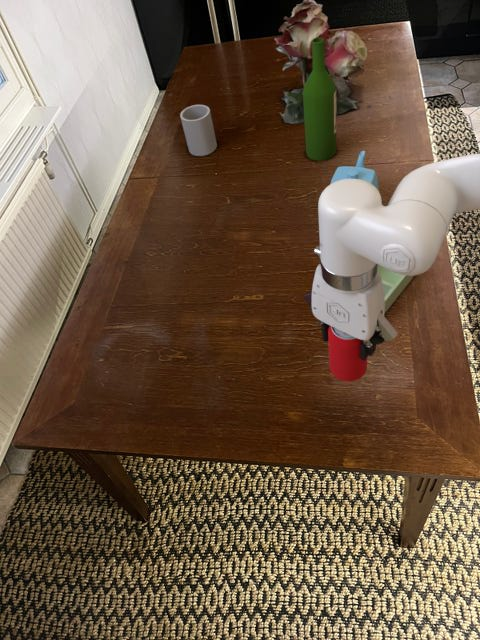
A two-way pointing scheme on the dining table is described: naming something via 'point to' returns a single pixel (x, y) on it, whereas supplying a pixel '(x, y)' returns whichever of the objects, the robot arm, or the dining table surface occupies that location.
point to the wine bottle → (319, 108)
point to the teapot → (356, 172)
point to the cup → (198, 130)
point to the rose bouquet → (339, 54)
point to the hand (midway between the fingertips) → (348, 344)
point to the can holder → (392, 284)
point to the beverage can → (345, 355)
